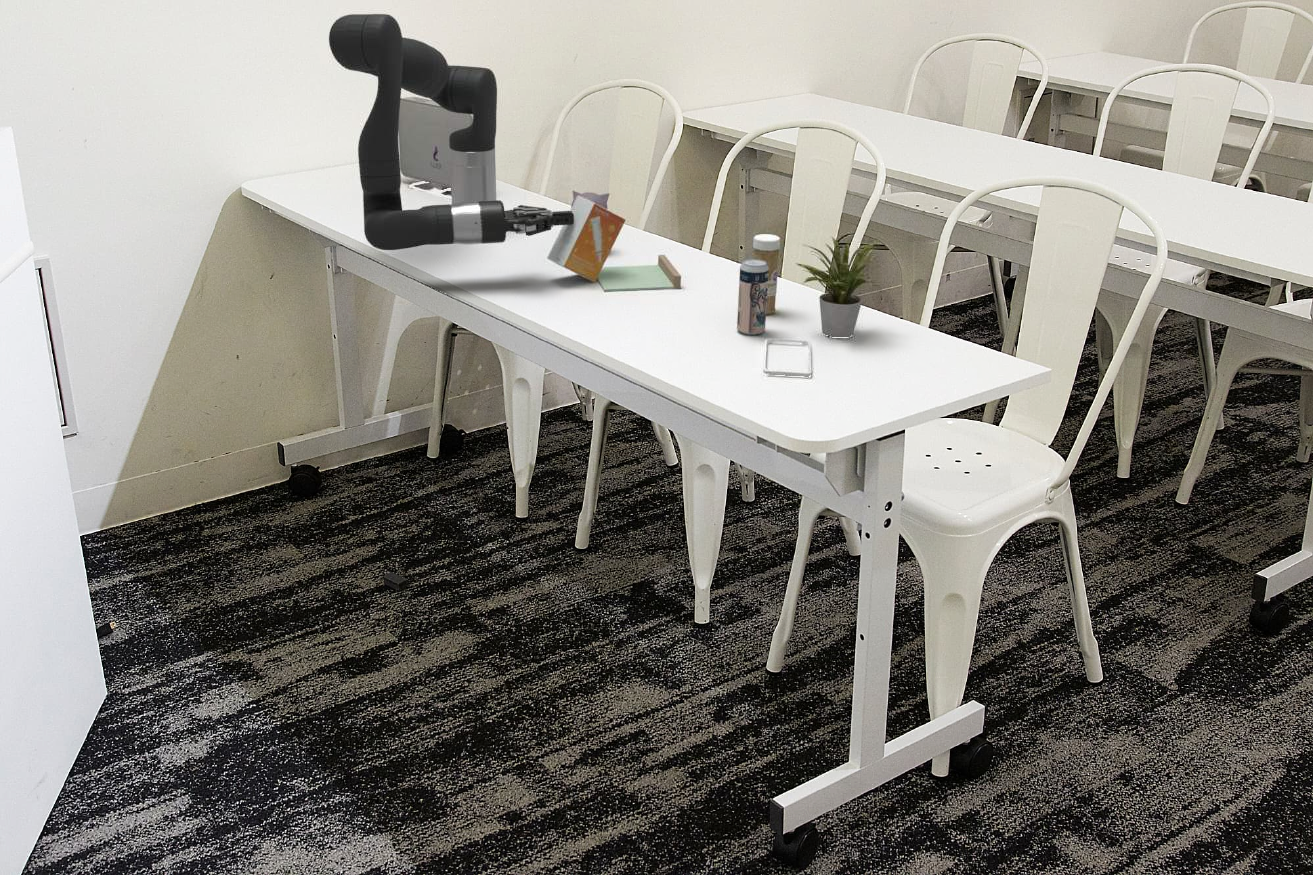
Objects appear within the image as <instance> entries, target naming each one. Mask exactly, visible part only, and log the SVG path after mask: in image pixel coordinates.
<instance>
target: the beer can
mask: <svg viewBox="0 0 1313 875" xmlns="http://www.w3.org/2000/svg"><path fill="white" fill-rule="evenodd" d="M768 275H769V268H768V266H767V263H766V261H763V260H759V259H754V258H750V259H749V258H748V259H745V260H743V261H742V262H741V265H740V266H739V280H738V296H737V297H738V300H737V317H736V319H737V320H736V329H737V331H738V332H740V333H741V332H742V333H741V334H743V333H745V334H744V335H746V334H748V335H749V336H757V335H756V334H758V335H760V334H762V333H764V332H765V331H766V324H767V323H766V321H767V319H766V318H767V315H766V307H767V291H768ZM748 335H747V336H748Z"/></svg>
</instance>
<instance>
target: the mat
mask: <svg viewBox="0 0 1313 875" xmlns="http://www.w3.org/2000/svg"><path fill="white" fill-rule="evenodd" d="M657 259H658V260H657V261H658V262H657V264H654V265H652V264H651V265H650V264H648V265H647V264H646V265H626V266H625V265H624V266H623V265H622V266H603V267H602V269H601V271H600V273H599V275H598V277H597V279H596V281H597V282H598V283H599V285H600V286H601V288H602V290H603V292H623V291H624V292H626V291H627V292H628V291H631V292H632V291H650V290H652V291H653V290H674V289H675V290H676V289H681V285H682V284H681V282H682V275H681V274H680V273H679V272H678V270H677V269H676V268H675V266H674V265H673V264H672V263H671V262H670V260H669V259H668V257H667V256H666V255H665V254H658V256H657Z"/></svg>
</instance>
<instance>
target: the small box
mask: <svg viewBox="0 0 1313 875" xmlns="http://www.w3.org/2000/svg"><path fill="white" fill-rule="evenodd" d="M569 211H572V213H573V214H574V223H573V224H572V225H561V226H562V227H561V229H560V231H559V233H558V234H557V237H556V239H555V241H554V244H553V245H552V247H551V250H550V251H549V253H548V256H547V260H549V261H551V262H553V263H555V264H556V265H558V266H560V267H562V268H564V269H566V270H569V271H571V272H573V273H574V274H576V275H579V276H580V277H583V278H584V279H587V280H589V281H590V282H593V283H595V282H596V281H597V277H598V275H599V273H600V271H601V269H602V267H604V265H605V263H606V261H607V259H608V256H609V255H610V253H611V250H612V248H613V246H614V244H615V243H616V240H617V238H618V236H619V235H620V233H621V230H622V228H623V227H624V224H625V222H626V219H625V218H624V217H622V216H620V215H618V214H617V213H614V212H612V211H610V210H608V208H607V209H605V208H603V207H601V206H599V205H597V204H596V203H594V202H592V201H590V200H588V199H585V198H583V197H581V196H577V198H576V200H575V202H574V204H573V206H572V208H570V210H569Z"/></svg>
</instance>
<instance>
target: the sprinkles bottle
mask: <svg viewBox="0 0 1313 875" xmlns="http://www.w3.org/2000/svg"><path fill="white" fill-rule="evenodd" d="M752 242H753V245H752V247H753V259H759V260H763V261H766V263H767V266H768V268H769V275H768V291H767V307H766V316H767V315H768V316H769V315H773V314H774V313H776V301H777V300H776V299H777V298H776V296H777V292H778V291H777V288H778V287H777V286H778V274H779V273H778V270H779V269H778V264H779V252H780V247H781V238H780V237H779V236H778V235H775V234H770V233H769V234H767V233H765V234H756V235H754V237H753V241H752Z"/></svg>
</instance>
